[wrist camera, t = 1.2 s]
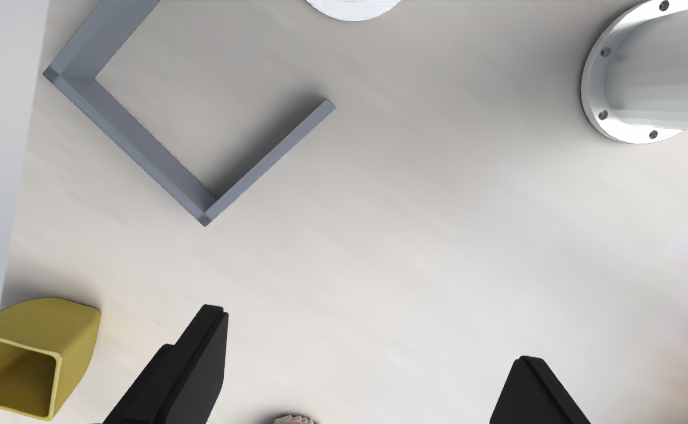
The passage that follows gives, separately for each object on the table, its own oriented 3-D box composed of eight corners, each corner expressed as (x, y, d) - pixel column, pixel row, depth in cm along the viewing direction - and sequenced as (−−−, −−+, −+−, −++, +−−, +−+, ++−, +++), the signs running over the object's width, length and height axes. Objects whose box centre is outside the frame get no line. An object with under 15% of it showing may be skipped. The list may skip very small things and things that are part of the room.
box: (194, -61, 29) (171, -86, 25) (335, 107, 33) (334, 108, 29) (78, 77, 32) (42, 73, 28) (219, 213, 36) (204, 227, 32)
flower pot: (122, 301, 40) (60, 356, 31) (109, 358, 42) (50, 424, 34) (44, 277, 39) (-42, 327, 30) (36, 337, 41) (-45, 399, 33)
